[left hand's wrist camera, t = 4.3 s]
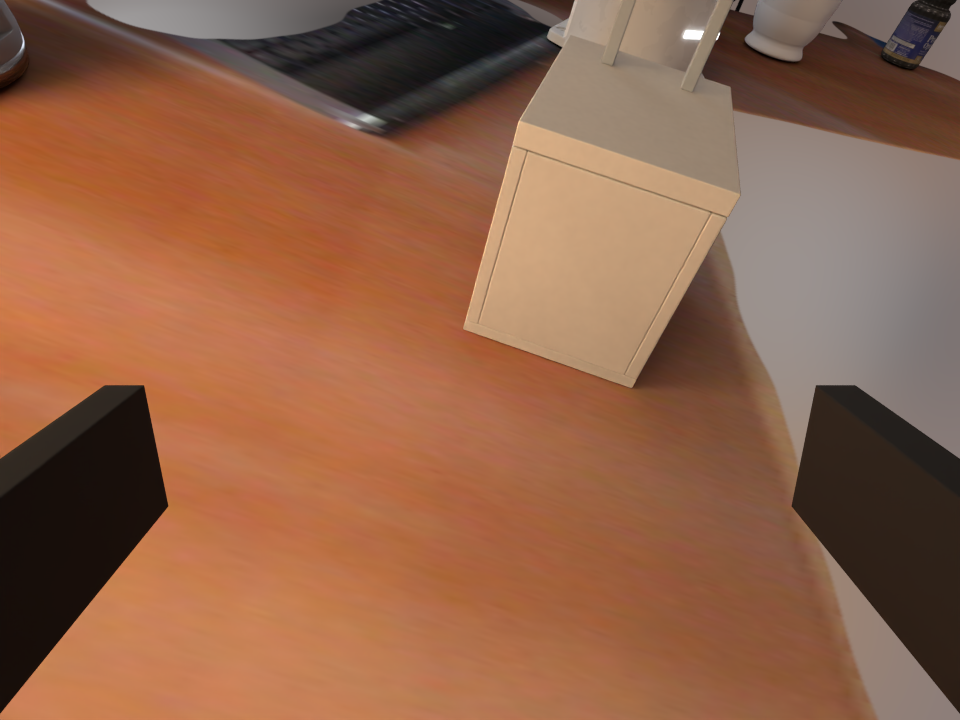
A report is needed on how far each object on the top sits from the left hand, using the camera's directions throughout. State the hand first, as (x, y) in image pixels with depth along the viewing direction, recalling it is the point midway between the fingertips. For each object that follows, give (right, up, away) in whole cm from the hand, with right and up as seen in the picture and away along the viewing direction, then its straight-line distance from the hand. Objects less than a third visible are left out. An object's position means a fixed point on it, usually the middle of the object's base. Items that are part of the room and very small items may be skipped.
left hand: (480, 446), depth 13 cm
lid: (+8, +14, +20) cm, 25 cm away
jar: (+42, +47, +80) cm, 102 cm away
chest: (+5, +6, +27) cm, 28 cm away
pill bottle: (+69, +51, +93) cm, 127 cm away
